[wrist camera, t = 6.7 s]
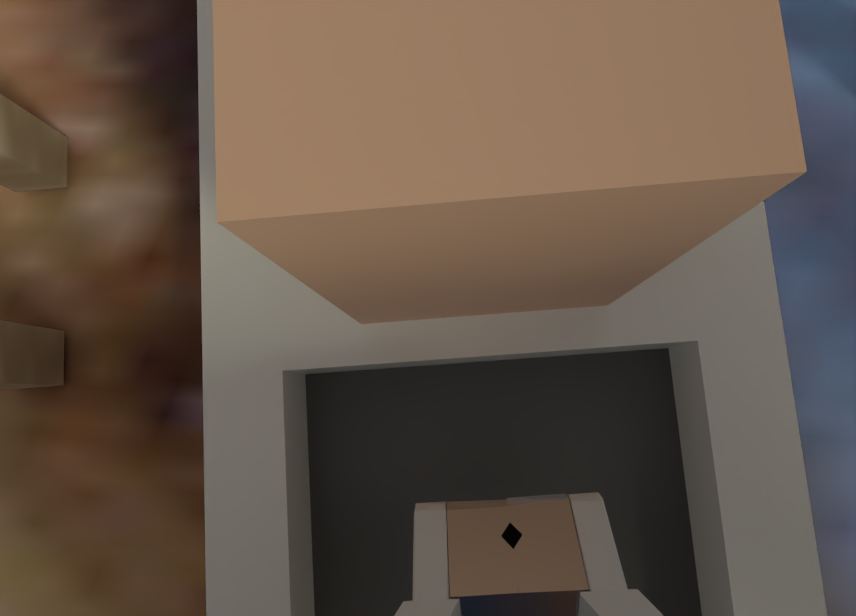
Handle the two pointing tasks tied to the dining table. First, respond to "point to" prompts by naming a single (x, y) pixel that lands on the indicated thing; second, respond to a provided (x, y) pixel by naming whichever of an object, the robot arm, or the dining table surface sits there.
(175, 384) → the dining table surface
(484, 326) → the tray
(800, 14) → the dining table surface
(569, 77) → the block
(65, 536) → the dining table surface
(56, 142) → the arch
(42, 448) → the dining table surface
